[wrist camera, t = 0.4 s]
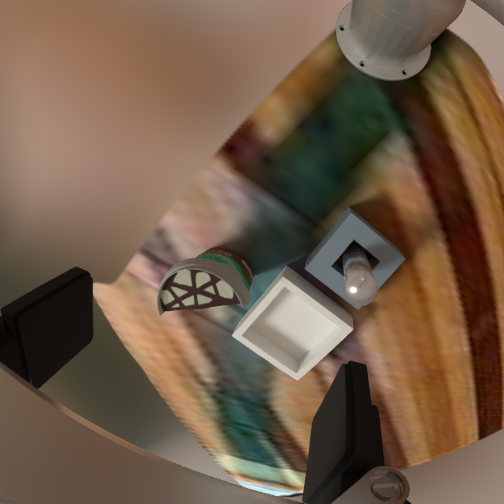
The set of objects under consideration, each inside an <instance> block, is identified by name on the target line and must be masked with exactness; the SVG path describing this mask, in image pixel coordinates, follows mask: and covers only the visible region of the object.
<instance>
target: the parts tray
mask: <svg viewBox="0 0 504 504" xmlns="http://www.w3.org/2000/svg"><path fill="white" fill-rule="evenodd" d="M353 329H354V328H353V319H352V314H350V313H349V312H348V311H346V310H345V309H344V308H342V307H341V306H340V305H339V304H337V303H336V302H335V301H333V300H332V299H331V298H329V297H328V296H327V295H325V294H324V293H323V292H321V291H320V290H319V289H317V288H316V287H315V286H314V285H312V284H311V283H310V282H308V281H307V280H306V279H304V278H303V277H302V276H300V275H299V274H298V273H296V272H295V271H294V270H292V269H291V268H290V267H288V266H287V265H286V267H285V268H284V269H283V270H282V271H281V273H280V274H279V275H278V276H277V277H276V279H275V280H274V281H273V282H272V283H271V285H270V286H269V287H268V288H267V289H266V291H265V292H264V293H263V294H262V295H261V297H260V298H259V299H258V300H257V301H256V303H255V304H254V305H253V306H252V307H251V308H250V310H249V311H248V312H247V313H246V314H245V316H244V317H243V318H242V319H241V320H240V321H239V323H238V325H237V327H236V329H235V331H234V333H233V335H232V336H233V337H234V338H236V339H237V340H238V341H240V342H241V343H243V344H244V345H246V346H247V347H248V348H250V349H251V350H253V351H254V352H256V353H257V354H258V355H260V356H261V357H263V358H264V359H266V360H267V361H269V362H270V363H272V364H273V365H275V366H276V367H278V368H279V369H281V370H282V371H284V372H285V373H287V374H288V375H290V376H291V377H293V378H294V379H296V380H297V381H298V380H299V379H300V378H301V377H302V376H303V375H304V374H306V373H307V372H308V371H309V370H310V369H311V368H312V367H314V366H315V365H316V364H317V363H318V362H319V361H320V360H321V359H322V358H324V357H325V356H326V355H327V354H328V353H329V352H330V351H331V350H332V349H333V348H334V347H335V346H337V345H338V344H339V343H340V342H341V341H342V340H343V339H344V338H345V337H346V336H347V335H348V334H349V333H350V332H351V331H352V330H353Z"/></svg>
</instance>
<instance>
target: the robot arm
mask: <svg viewBox="0 0 504 504" xmlns="http://www.w3.org/2000/svg"><path fill="white" fill-rule="evenodd" d="M471 1H473V2H474V3H475V4H477V5H478V6H479V7H481V8H482V9H484V10H485V11H486V12H488V13H489V14H490V15H491V16H493V17H494V18H495V19H496V20H498V21H499V22H500V23H501V24H503V26H504V0H471ZM465 2H466V0H353V1H351V2H350V3H348V4H347V5H346V6H345V7H344V8H343V9H342V11H341V12H340V14H339V17H338V19H337V23H336V37H337V42H338V45H339V47H340V49H341V51H342V53H343V54H344V56H345V57H346V59H347V60H348V61H349V62H350V63H351V64H352V65H353V66H354V67H356V68H357V69H358V70H360V71H361V72H363V73H365V74H367V75H368V76H371V77H374V78H376V79H380V80H385V81H399V80H405V79H407V78H410V77H412V76H414V75H415V74H417V73H418V72H419V71H421V70H422V69H423V68H424V66H425V65H426V63H427V62H428V59H429V57H430V52H431V42H432V41H434V40H435V39H436V38H437V37H438V36H439V35H440V34H441V33H442V32H443V31H444V30H445V29H446V28H447V27H448V26H449V25H450V24H451V23H452V22H453V21H454V20H455V19H456V18H457V17H458V16H459V15H460V13H461V12H462V10H463V8H464V5H465ZM340 29H344V31H342V30H340ZM360 64H363V65H364V66H363V67H362V66H360ZM402 72H405V75H403V73H402ZM1 313H2V316H1V317H0V504H305V503H307V504H411V503H410V502H409V501H407V500H406V499H407V498H408V496H409V491H410V487H409V483H408V481H407V479H406V477H405V476H404V475H403V474H402V473H401V472H400V471H398V470H396V469H395V468H391V467H388V466H384V455H383V445H382V436H381V427H380V419H379V411H378V407H377V406H375V405H371V397H370V389H369V381H368V373H367V367H366V365H365V364H362V363H358V362H354V361H349V362H348V364H344V363H343V364H342V365H341V367H340V369H339V371H338V373H337V375H336V377H335V379H334V381H333V383H332V385H331V387H330V389H329V390H328V392H327V394H326V396H325V398H324V400H323V402H322V404H321V405H320V407H319V409H318V411H317V413H316V414H315V416H314V419H313V422H312V428H311V437H310V446H309V454H308V462H307V470H306V477H305V485H304V491H303V498H302V501H303V503H301V502H297V501H293V500H289V499H286V498H282V497H278V496H274V495H270V494H266V493H263V492H259V491H255V490H252V489H248V488H245V487H242V486H238V485H235V484H232V483H229V482H226V481H223V480H220V479H217V478H214V477H211V476H208V475H205V474H202V473H199V472H197V471H194V470H191V469H189V468H186V467H183V466H181V465H178V464H176V463H173V462H171V461H168V460H166V459H164V458H161V457H159V456H157V455H154V454H152V453H150V452H148V451H146V450H143V449H141V448H139V447H137V446H135V445H133V444H131V443H128V442H127V441H125V440H122V439H121V438H119V437H117V436H115V435H113V434H111V433H109V432H107V431H105V430H103V429H102V428H100V427H98V426H96V425H94V424H92V423H91V422H89V421H87V420H86V419H84V418H82V417H80V416H79V415H77V414H75V413H74V412H72V411H71V410H69V409H67V408H66V407H64V406H62V405H61V404H59V403H58V402H56V401H55V400H53V399H51V398H50V397H48V396H47V395H45V394H44V393H42V392H41V391H40V390H38V388H40V387H41V386H42V385H43V384H44V383H45V382H46V381H47V380H49V379H50V378H51V377H52V376H53V375H54V374H55V373H56V372H58V370H60V369H61V368H62V367H63V366H64V365H65V364H66V363H68V362H69V361H70V360H71V359H72V358H73V357H74V356H75V355H77V354H78V353H79V352H80V351H81V350H82V349H83V348H84V347H86V346H87V345H88V344H89V343H90V342H91V340H92V338H93V280H92V277H91V276H90V273H89V272H88V271H86V270H83V269H81V268H79V267H74V268H73V269H70V270H68V271H67V272H65V273H63V274H61V275H59V276H57V277H56V278H54V279H52V280H50V281H48V282H46V283H45V284H43V285H41V286H39V287H38V288H36V289H34V290H32V291H30V292H29V293H27V294H25V295H23V296H22V297H20V298H18V299H17V300H15V301H13V302H11V303H10V304H8V305H6V306H5V307H3V308H1Z"/></svg>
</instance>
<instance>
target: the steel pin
mask: <svg viewBox="0 0 504 504" xmlns="http://www.w3.org/2000/svg"><path fill="white" fill-rule="evenodd" d="M342 262H343V270H344V279H345V288H346V296H347V298H348V300H349V301H350V302H351V303H352V304H354V305H357V306H365V305H368V304H370V303H371V302H372V301H373V300H374V299H375V297H376V295H377V285H376V282H375V279H374V276H373V273H372V270H371V267H370V264H369V261H368V259H367V256H366V253H365V250H364V248H363V247H362V246H361V245H360V244H359V243H356V242H351V243H350V245H349V246H348V247H347V248H346V249H345V250H344V252H343V253H342Z"/></svg>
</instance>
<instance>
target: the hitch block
mask: <svg viewBox="0 0 504 504" xmlns="http://www.w3.org/2000/svg"><path fill="white" fill-rule="evenodd" d="M353 240H355V241H356V242H358V243H359V244H360V245H361V246H362V247H364V248H365V249H366V250H367V251H368V252H370V253H371V254H372V257H371V258H370V259H369V260H368V261H369V264H370V267H371V270H372V273H373V276H374V279H375V282H376V285H377V290H378V289H379V288H380V287H381V286H382V285H383V283H384V282H385V281H386V280H387V279H388V278H389V277H390V276H391V275H392V274H393V272H394V271H395V270H396V269H397V268H398V267H399V266H400V265H401V263H402V262H403V261H404V260H405V257H404V256H403V254H402V253H401V251H400V250H399V249H398V248H397V247H396V246H395V245H394V244H393V243H391V242H390V241H389V240H388V239H387V238H386V237H385V236H383V235H382V234H381V233H380V232H379V231H378V230H376V229H375V228H374V227H373V226H372V225H370V224H369V223H368V222H367V221H366V220H364V219H363V218H362V217H361V216H360V215H358V214H357V213H356V212H355V211H354V210H352V209H351V208H350V207H348V208H347V210H346V211H345V212H344V213H343V215H342V216H341V217H340V218H339V219H338V221H337V222H336V223H335V224H334V226H333V227H332V228H331V229H330V231H329V232H328V233H327V234H326V235H325V237H324V238H323V239H322V240H321V242H320V243H319V244H318V245H317V246H316V248H315V249H314V250H313V251H312V252H311V254H310V255H309V256H308V257H307V259H306V264H305V270H307V271H308V272H309V273H311V274H312V275H313V276H315V277H316V278H317V279H318V280H320V281H321V282H322V283H324V284H325V285H326V286H328V287H329V288H330V289H331V290H333V291H334V292H335V293H337V294H338V295H339V296H341V297H342V298H343V299H344V300H346V301H347V302H348V303H350V304H351V305H352V306H353V307H355V308H356V309H357V310H359V309H360V308H361V307H362V306H357V305H354V304H352V303H351V302H350V301H349V300H348V298H347V296H346V288H345V279H344V270H343V265H341V264H340V263H339V262H337V261H336V260H337V259H338V257H339V256H340V255H341V254H342V253H343V252H344V250H345V249H346V248H347V247H348V246H349V245H350V243H351V242H352V241H353Z"/></svg>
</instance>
